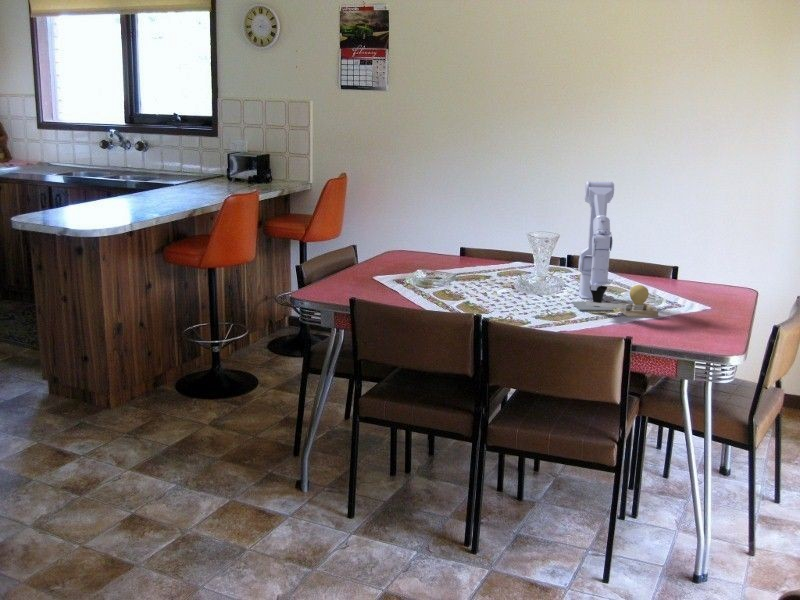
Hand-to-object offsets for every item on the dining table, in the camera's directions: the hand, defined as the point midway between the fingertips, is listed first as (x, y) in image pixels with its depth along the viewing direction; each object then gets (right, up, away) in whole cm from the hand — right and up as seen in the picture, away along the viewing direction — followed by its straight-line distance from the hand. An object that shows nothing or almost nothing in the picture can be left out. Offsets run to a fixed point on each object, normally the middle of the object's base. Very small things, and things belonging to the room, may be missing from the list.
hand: (596, 306), depth 297 cm
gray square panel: (0, 0, +8) cm, 8 cm away
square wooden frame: (+14, -2, +1) cm, 15 cm away
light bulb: (+14, -2, +1) cm, 15 cm away
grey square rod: (+3, 0, -2) cm, 4 cm away
